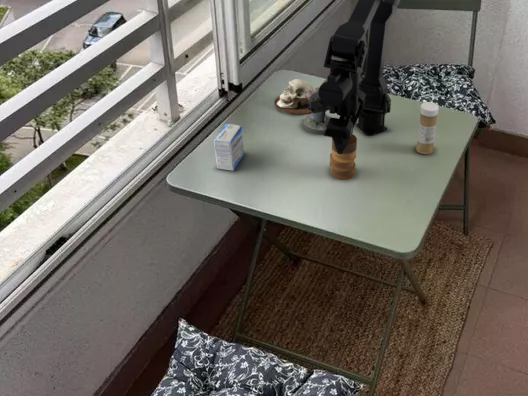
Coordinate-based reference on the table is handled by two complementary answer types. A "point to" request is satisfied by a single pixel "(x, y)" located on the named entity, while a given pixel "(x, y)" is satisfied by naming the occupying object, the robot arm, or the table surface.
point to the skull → (294, 97)
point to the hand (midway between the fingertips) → (344, 143)
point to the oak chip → (343, 157)
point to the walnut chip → (348, 145)
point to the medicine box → (229, 147)
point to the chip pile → (342, 169)
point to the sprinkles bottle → (427, 127)
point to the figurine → (315, 119)
